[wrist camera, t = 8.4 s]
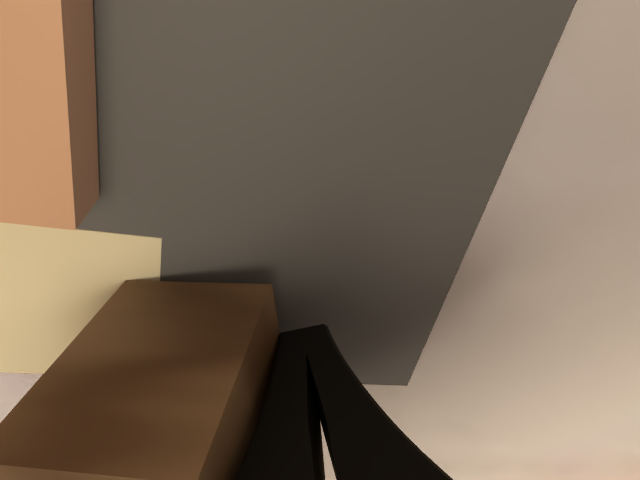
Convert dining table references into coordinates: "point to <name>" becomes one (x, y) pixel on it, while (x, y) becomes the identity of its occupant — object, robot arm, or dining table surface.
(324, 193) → the mat
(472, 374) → the dining table surface
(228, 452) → the block
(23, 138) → the tile
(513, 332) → the dining table surface
